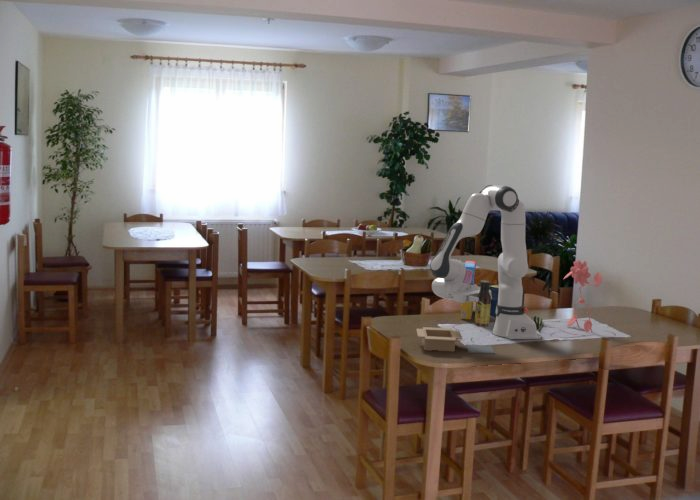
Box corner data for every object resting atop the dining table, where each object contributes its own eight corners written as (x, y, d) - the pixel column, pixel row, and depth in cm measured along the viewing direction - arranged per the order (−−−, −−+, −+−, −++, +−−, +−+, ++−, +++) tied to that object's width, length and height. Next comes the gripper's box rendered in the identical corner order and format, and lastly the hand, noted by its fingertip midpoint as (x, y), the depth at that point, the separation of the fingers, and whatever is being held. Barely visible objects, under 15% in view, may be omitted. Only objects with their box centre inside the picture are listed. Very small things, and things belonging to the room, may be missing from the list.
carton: (457, 341, 336) (458, 328, 335) (462, 353, 317) (463, 340, 316) (415, 339, 336) (416, 326, 335) (417, 351, 318) (418, 338, 317)
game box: (471, 320, 377) (474, 267, 373) (460, 319, 378) (463, 266, 374) (472, 311, 397) (476, 260, 393) (462, 310, 398) (465, 260, 394)
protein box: (498, 312, 397) (500, 283, 395) (523, 318, 386) (525, 288, 383) (486, 314, 390) (488, 285, 388) (511, 320, 379) (513, 291, 376)
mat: (490, 346, 329) (490, 345, 329) (494, 354, 319) (494, 352, 318) (465, 345, 330) (465, 344, 330) (468, 352, 319) (468, 351, 319)
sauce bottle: (472, 323, 326) (475, 279, 323) (486, 324, 326) (489, 279, 323) (476, 327, 319) (479, 282, 316) (490, 327, 320) (493, 282, 317)
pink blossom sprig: (568, 322, 379) (573, 254, 373) (605, 335, 356) (611, 263, 350) (544, 325, 372) (548, 256, 367) (581, 339, 350) (586, 266, 344)
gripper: (445, 288, 324) (468, 294, 313) (477, 283, 336) (500, 289, 326) (444, 302, 325) (467, 308, 314) (476, 297, 337) (499, 303, 327)
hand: (484, 298), depth 320 cm, fingers closed on sauce bottle, 6 cm apart
